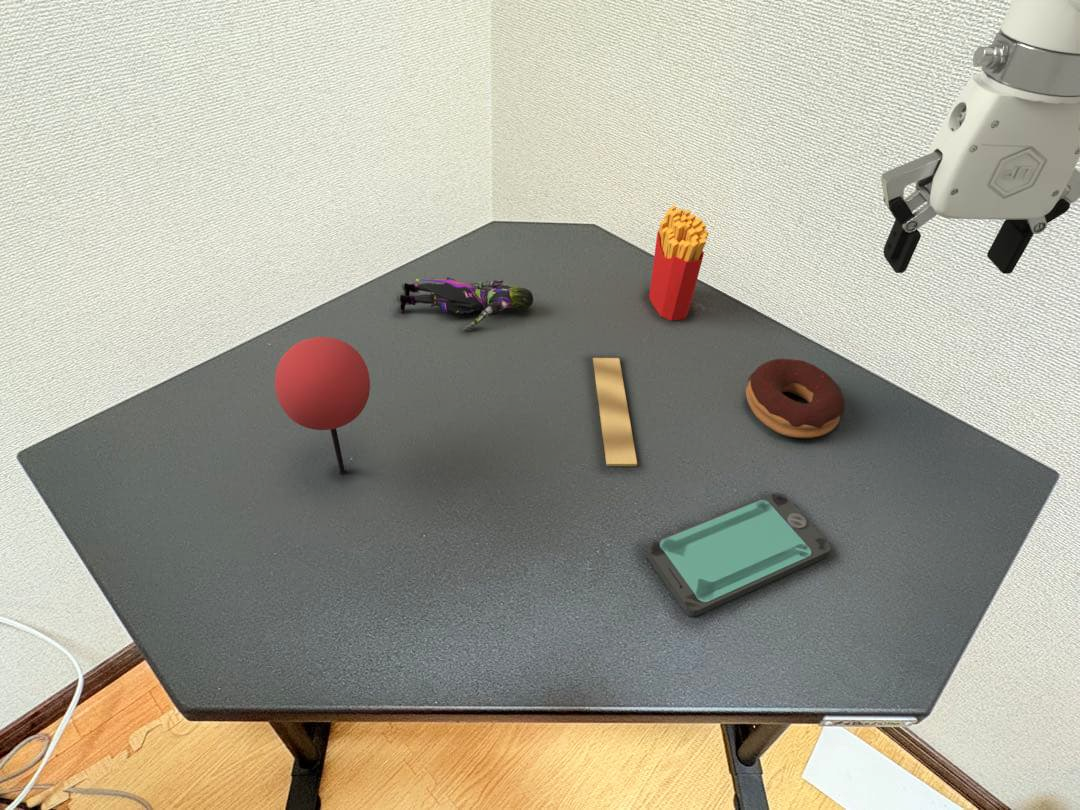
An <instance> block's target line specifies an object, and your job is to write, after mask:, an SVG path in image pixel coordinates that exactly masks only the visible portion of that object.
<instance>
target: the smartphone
mask: <svg viewBox="0 0 1080 810" xmlns="http://www.w3.org/2000/svg"><path fill="white" fill-rule="evenodd" d="M830 551H831V544H830V542H829V541H828V540H827V539H826V538H825V537H824V536H823V534H821V533H820V532H819V531H818V529H817V528H816V527H815V526H814V525H813V524H812V523H811V522H810V521H809V519H807V517H806V516H804V514H803V513H802V512H801V511H800V510H799V509H798V507H796V505H794V503H792V501H791V500H790V499H789V498H788V497H787V495H785V494H784V493H782V492H773V493H771V494H769V495H766V496H764V497H762V498H758V499H756V500H754V501H750V502H748V503H746V504H744V505H742V506H739V507H736V508H734V509H732V510H728V511H727V512H723V513H722V514H719V515H716V516H713V517H710V518H708V519H706V520H703V521H701V522H698V523H696V524H694V525H690V526H689V527H686V528H684V529H681V530H678V531H676V532H673V533H671V534H668V535H665V536H663V537H661V538H659V539H657V540H654V541H652V542H649V544H647V548H646V552H645V557H646V559H647V560H648V562H649V563H650V564H651V566H652V567H653V569H654V570H655V571H656V573H657V574H658V576H659V578H660V579H661V581H663V583H664V584H665V586H666V587H667V588H668V590H669V592H670V593H671V595H672V596H673V598H674V599H675V600H676V603H678V605H679V606H680V607H681V609H682V611H683V612H684V614H685V615H687V616H689V617H691V618H693V617H697V616H700V615H702V614H704V613H706V612H708V611H711V610H713V609H715V608H717V607H720V606H722V605H724V604H727V603H728V602H731V601H733V600H735V599H738V598H739V597H742V596H744V595H746V594H748V593H750V592H752V591H755V590H757V589H759V588H762V587H764V586H766V585H768V584H770V583H773V582H775V581H777V580H779V579H781V578H783V577H784V578H785V576H788V575H790V574H792V573H794V572H796V571H798V570H799V571H800V570H801V569H803V568H805V567H807V566H810V565H812V564H814V563H817V562H818V561H821V560H824V559H826V558H827V556H828V555H829V553H830Z"/></svg>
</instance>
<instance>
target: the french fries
mask: <svg viewBox="0 0 1080 810" xmlns="http://www.w3.org/2000/svg"><path fill="white" fill-rule="evenodd" d="M684 210H685V209H684V208H683V207H680V208H678V209H677V206H676V205H675V204H673V205H671V206H670V207H669V208H668V210H667V212H666V214H665V215H664V217H663V220H662V221H660V222H659V228H658V230H657V233H656V239H655V240H656V241H655V247H654V255H653V262H652V263H653V264H652V272H651V277H650V278H651V280H650V285H649V293H648V298H649V300H650V302H651V304H652V305H653V307H654V309H655V310H656V312H657V314H659V315H658V316H660V317H662V318H664V319H666V320H668V321H671V322H672V321H679V320H685V319H686V318H687V316H688V314H689V312H690V307H691V304H692V301H693V296H694V293H695V290H696V286H697V282H698V278H699V274H700V270H701V266H702V263H703V259H704V256H705V255H704V254H705V252H704V251H703V250H704V248H705V246H706V243H707V238H708V237H709V231H708V230H707V229H706V228H707V223H706V222H703V218H702V217H700V218H699V217H697V215H696V213H692V214H691V211H690V209H687V210H685V211H684Z"/></svg>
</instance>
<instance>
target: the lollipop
mask: <svg viewBox="0 0 1080 810" xmlns="http://www.w3.org/2000/svg"><path fill="white" fill-rule="evenodd" d="M370 378H371V377H370V373H369V368H368V366H367V364H366V362H365V360H364V358H363V357H362V355H361V354H360V353H359V352H358V350H357V349H356V348H355V347H353V346H352V345H351V344H349V343H347V342H346V341H344V340H341V339H338V338H335V337H328V336H316V337H310V338H307V339H304V340H301V341H298V342H297V343H295V344H294V345H293V346H291V347H290V348H289V349H287V350H286V352H285V353H284V354H283V355H282V357H281V358H280V361H279V362H278V364H277V367H276V371H275V375H274V388H275V389H274V390H275V394H276V399H277V401H278V403H279V405H280V407H281V409H282V410H283V412H284V413H285V415H286V416H288V418H290V419H291V420H292V421H293V422H294V423H296V424H297V425H299V426H301V427H304V428H306V429H311V430H316V431H330V433H331V434H330V435H331V438H332V443H333V449H334V453H335V457H336V461H337V465H338V469H339V471H338V474H339V475H341V476H343V475H345V474H346V473H347V470H346V468H345V464H344V460H343V459H344V458H343V455H342V450H341V445H340V440H339V435H338V431H337V430H338V429H339V428H342V427H344V426H346V425H348V424H350V423H351V422H353V421H355V420H356V419H357V418H358V417H359V416H360V415H361V413H362V412H363V411H364V408H365V407H366V405H367V403H368V401H369V398H370V397H369V396H370V392H371V379H370Z"/></svg>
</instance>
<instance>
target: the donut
mask: <svg viewBox="0 0 1080 810" xmlns="http://www.w3.org/2000/svg"><path fill="white" fill-rule="evenodd" d="M747 381H748V385H746V388H745V397H746V400H747V403H748V405H749V407H750V410H751V411H752V413H753V414H754V415H755V417H756V418H757V419H758V420H759V421H760V422H761V423H762V424H764V426H766V427H768V428H769V429H771V430H772V431H774V432H775V433H777V434H779V435H782V436H785V437H788V438H795V439H812V438H818V437H821V436H824V435H826V434H829V433H830V432H832V431H833V430H835V428H836V427H837V426H838V424H839V422H840V419H841V417H842V416H843V414H844V412H845V409H846V403H845V402H846V400H845V396H844V395H843V392H842V390H841V388H840V386H839V384H838V383H837V382H836V381H835V380H834V379H833V378H832V376H830V375H829V374H828V373H827V372H825V371H824V370H823V369H821V368H819V367H818V366H815V365H814V364H812V363H810V362H807V361H805V360H802V359H801V358H799V359H794V358H783V357H782V358H775V359H770V360H768V361H766V362H764V363H762V364H761V365H760V366H758V367H757V368H756V369H755V370H754V371H753V372H752V373H751V374H750V376H749V377H748V379H747ZM784 393H788V394H789V393H790V394H793V395H795V396H797V397H799V398H801V399H803V400H805V401H806V402H807V403H802V402H800V401H796V400H794V399H791V398H790V397H788V396H787V395H786V394H784Z"/></svg>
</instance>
